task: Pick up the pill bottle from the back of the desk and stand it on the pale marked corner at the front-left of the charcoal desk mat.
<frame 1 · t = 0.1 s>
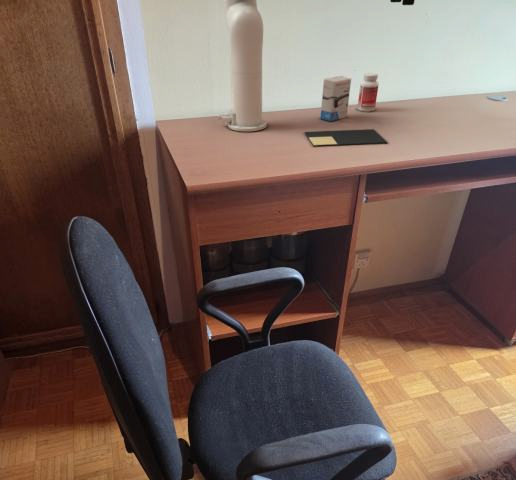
hand: (401, 3, 128), 31 cm above the table, tool pointing down, fingers open, 9 cm apart
desk mat: (344, 138, 135), on the table
pill bottle: (365, 110, 160), on the table
ink box: (333, 118, 152), on the table
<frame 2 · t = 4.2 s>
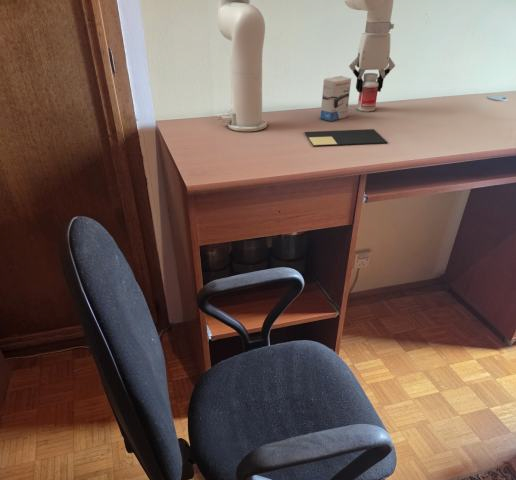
hand: (368, 90, 156), 6 cm above the table, tool pointing down, fingers closed on pill bottle, 6 cm apart
pill bottle: (365, 110, 160), on the table, touching gripper
everything else where it was.
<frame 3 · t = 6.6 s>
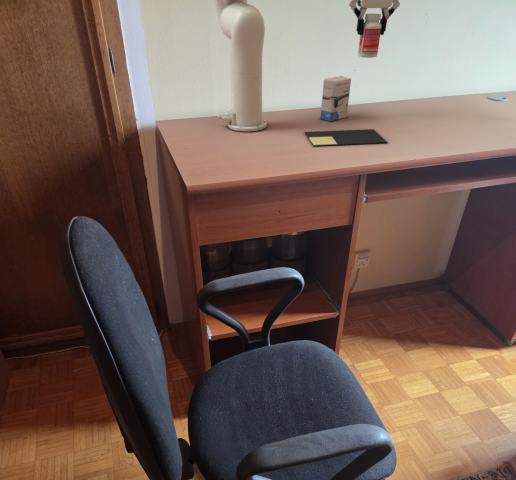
hand: (370, 33, 141), 23 cm above the table, tool pointing down, fingers closed on pill bottle, 6 cm apart
pill bottle: (367, 57, 145), point 17 cm above the table, touching gripper
everything else where it was.
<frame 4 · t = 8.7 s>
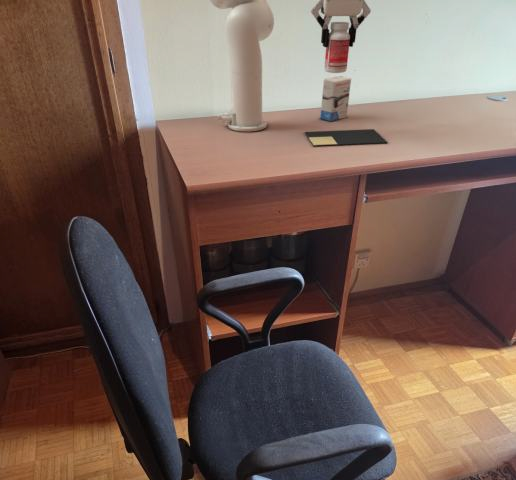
hand: (337, 45, 121), 23 cm above the table, tool pointing down, fingers closed on pill bottle, 6 cm apart
pill bottle: (335, 72, 125), point 17 cm above the table, touching gripper
everything else where it was.
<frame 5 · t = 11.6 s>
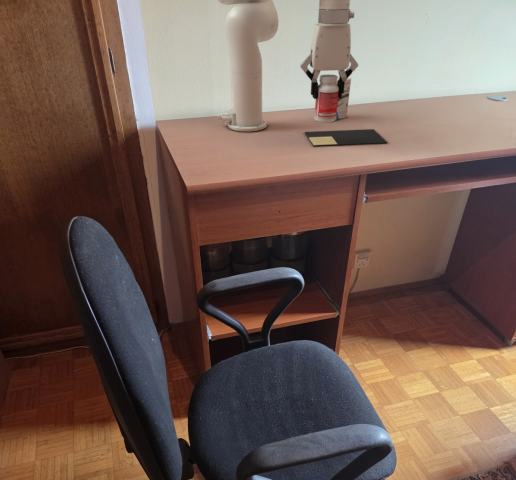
hand: (326, 96, 125), 12 cm above the table, tool pointing down, fingers closed on pill bottle, 6 cm apart
pill bottle: (324, 120, 129), point 6 cm above the table, touching gripper
everything else where it was.
when the fingers open (6 cm above the table, at t = 13.5 s): pill bottle stays where it is, resting on desk mat.
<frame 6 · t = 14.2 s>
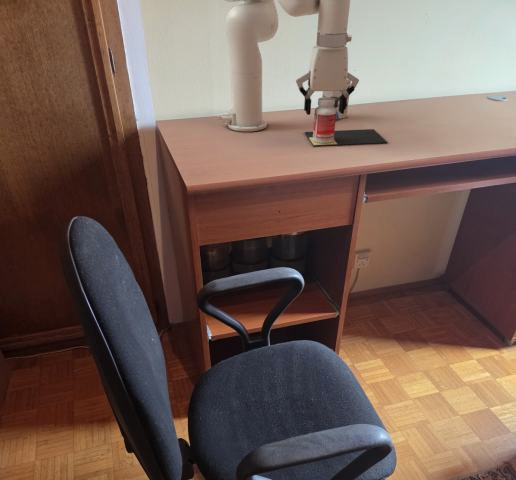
hand: (324, 113, 127), 8 cm above the table, tool pointing down, fingers open, 9 cm apart
pill bottle: (322, 141, 132), resting on desk mat
everything else where it was.
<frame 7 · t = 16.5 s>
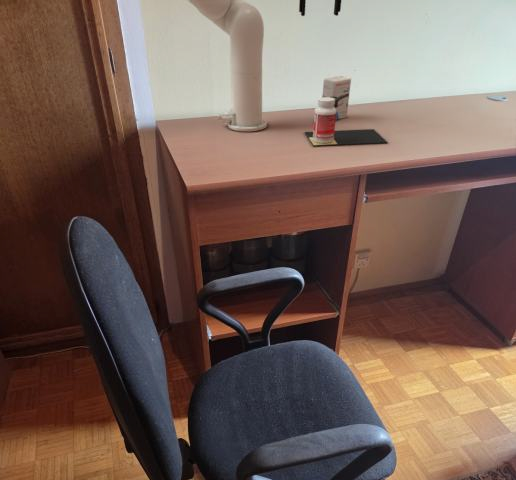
hand: (319, 15, 129), 29 cm above the table, tool pointing down, fingers open, 9 cm apart
nothing on the table moved.
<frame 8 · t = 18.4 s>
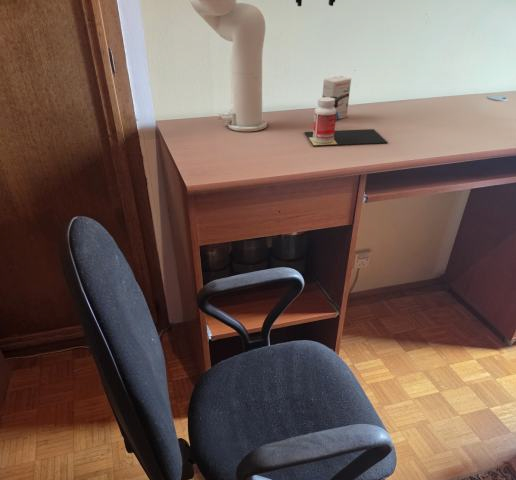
hand: (315, 5, 134), 30 cm above the table, tool pointing down, fingers open, 9 cm apart
nothing on the table moved.
at the end: pill bottle inside the target area on the desk mat (0.1 cm from its centre), point 0.3 cm above the desk mat's base; pill bottle tilted 0°; the gripper is holding nothing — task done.
